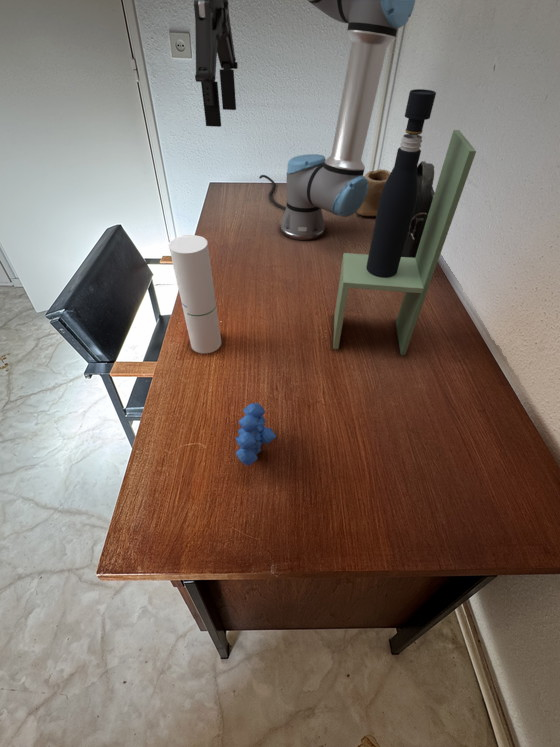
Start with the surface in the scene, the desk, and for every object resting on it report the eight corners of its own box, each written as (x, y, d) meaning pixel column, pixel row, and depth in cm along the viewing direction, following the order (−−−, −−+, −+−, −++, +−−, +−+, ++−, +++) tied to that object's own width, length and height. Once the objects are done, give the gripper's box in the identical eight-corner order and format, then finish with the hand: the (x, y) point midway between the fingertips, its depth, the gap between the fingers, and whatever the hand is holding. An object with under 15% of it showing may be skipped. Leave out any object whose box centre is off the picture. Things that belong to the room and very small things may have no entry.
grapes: (270, 485, 63) (269, 446, 54) (231, 479, 64) (225, 440, 55) (281, 429, 71) (282, 388, 62) (246, 424, 72) (243, 383, 63)
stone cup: (356, 221, 135) (364, 176, 124) (353, 207, 143) (359, 165, 132) (398, 221, 134) (409, 177, 124) (392, 208, 143) (401, 165, 132)
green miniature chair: (334, 317, 95) (361, 125, 65) (399, 323, 94) (459, 129, 63) (333, 348, 87) (364, 145, 56) (405, 355, 86) (476, 151, 55)
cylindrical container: (209, 329, 91) (192, 231, 73) (227, 343, 88) (215, 244, 70) (185, 343, 88) (161, 243, 70) (203, 357, 84) (183, 257, 66)
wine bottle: (397, 279, 75) (447, 96, 53) (365, 275, 76) (401, 94, 54) (397, 263, 79) (443, 88, 57) (366, 260, 80) (400, 86, 58)
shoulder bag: (417, 284, 106) (451, 180, 86) (385, 281, 107) (411, 177, 87) (409, 246, 122) (436, 150, 101) (381, 244, 122) (402, 149, 102)
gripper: (205, -41, 67) (218, 103, 82) (157, -51, 50) (185, 133, 65) (246, -41, 66) (251, 104, 81) (211, -50, 49) (226, 135, 64)
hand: (222, 117), depth 73 cm, fingers open, 13 cm apart
